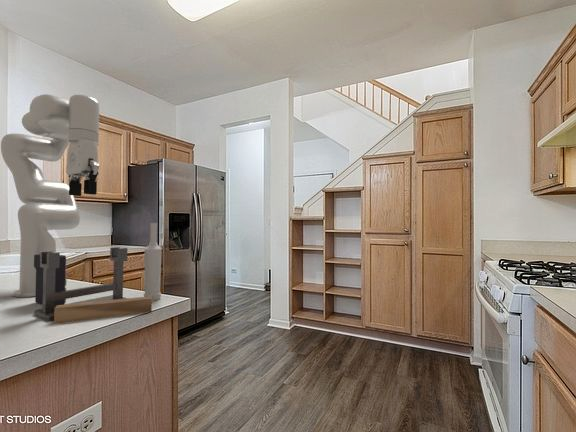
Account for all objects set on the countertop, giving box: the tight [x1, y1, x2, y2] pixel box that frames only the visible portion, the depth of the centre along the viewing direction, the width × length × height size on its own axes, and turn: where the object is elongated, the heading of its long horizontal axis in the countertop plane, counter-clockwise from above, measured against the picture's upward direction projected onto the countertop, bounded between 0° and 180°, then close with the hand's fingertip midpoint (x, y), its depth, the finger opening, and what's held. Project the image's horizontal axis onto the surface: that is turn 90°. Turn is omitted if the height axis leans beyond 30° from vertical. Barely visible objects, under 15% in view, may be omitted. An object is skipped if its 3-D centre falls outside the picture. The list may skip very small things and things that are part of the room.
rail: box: [53, 296, 153, 324], centre depth 80 cm, size 3×22×4 cm, turn 118°
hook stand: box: [33, 246, 128, 322], centre depth 87 cm, size 10×21×17 cm, turn 147°
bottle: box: [143, 222, 163, 302], centre depth 98 cm, size 5×5×25 cm
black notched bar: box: [34, 254, 68, 306], centre depth 91 cm, size 11×4×15 cm, turn 63°
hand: (82, 194), depth 89 cm, fingers open, 9 cm apart
